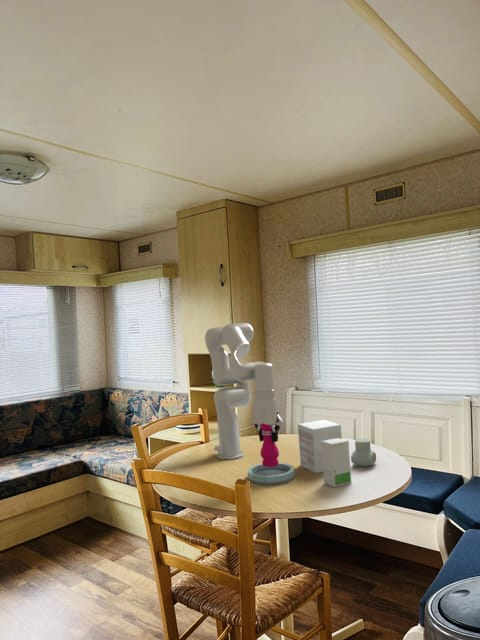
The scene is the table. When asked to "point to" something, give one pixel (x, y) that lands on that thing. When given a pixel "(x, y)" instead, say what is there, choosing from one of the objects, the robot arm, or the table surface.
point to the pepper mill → (268, 447)
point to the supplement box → (315, 442)
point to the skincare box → (336, 462)
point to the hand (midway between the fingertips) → (268, 440)
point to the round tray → (271, 474)
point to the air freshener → (363, 454)
